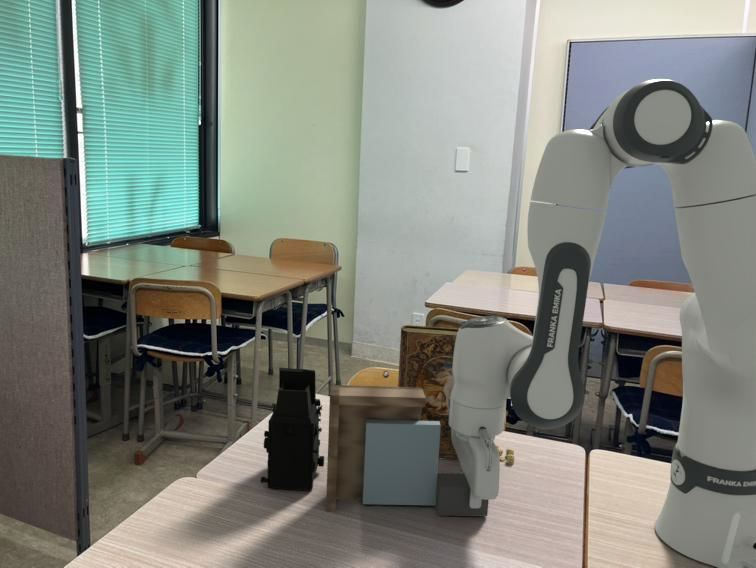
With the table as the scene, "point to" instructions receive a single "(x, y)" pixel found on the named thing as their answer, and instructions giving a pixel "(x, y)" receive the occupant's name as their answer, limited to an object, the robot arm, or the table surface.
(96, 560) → the table surface
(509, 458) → the dice set
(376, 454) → the door panel
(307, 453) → the camera
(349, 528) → the table surface
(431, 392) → the book
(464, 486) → the block
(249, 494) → the table surface
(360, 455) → the open wooden box
